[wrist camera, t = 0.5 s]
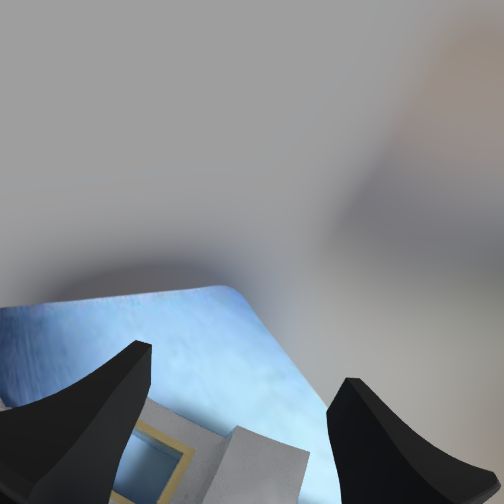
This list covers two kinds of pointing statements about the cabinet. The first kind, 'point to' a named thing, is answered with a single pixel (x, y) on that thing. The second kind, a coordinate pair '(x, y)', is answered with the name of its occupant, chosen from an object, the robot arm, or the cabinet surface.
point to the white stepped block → (219, 463)
